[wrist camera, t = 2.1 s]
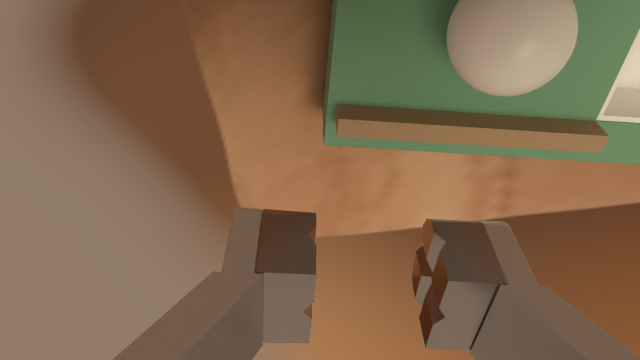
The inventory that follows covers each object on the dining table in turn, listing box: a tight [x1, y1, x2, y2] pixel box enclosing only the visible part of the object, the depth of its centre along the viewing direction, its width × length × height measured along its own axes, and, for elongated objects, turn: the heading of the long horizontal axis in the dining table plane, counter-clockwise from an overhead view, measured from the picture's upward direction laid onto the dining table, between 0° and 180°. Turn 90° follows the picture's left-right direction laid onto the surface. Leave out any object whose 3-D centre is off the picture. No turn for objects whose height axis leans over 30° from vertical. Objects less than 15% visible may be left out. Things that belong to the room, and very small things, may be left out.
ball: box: [447, 0, 578, 96], centre depth 20 cm, size 5×5×5 cm
